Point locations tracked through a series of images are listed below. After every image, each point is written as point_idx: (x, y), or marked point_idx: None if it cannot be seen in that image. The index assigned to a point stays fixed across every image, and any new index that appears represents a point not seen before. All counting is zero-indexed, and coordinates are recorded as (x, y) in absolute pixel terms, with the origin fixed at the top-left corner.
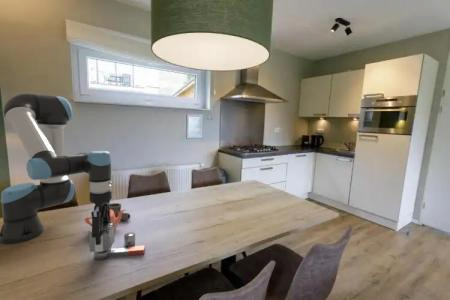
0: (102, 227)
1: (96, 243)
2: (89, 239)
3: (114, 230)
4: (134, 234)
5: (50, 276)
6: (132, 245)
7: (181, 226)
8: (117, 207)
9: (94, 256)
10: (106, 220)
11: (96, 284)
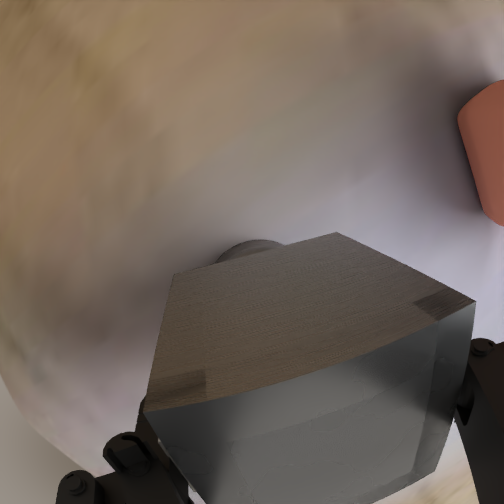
0: (339, 473)
1: (142, 414)
2: (162, 338)
3: (494, 221)
4: None
5: (36, 110)
6: None
7: (459, 446)
8: None
9: (221, 261)
10: (473, 451)
11: (44, 380)
